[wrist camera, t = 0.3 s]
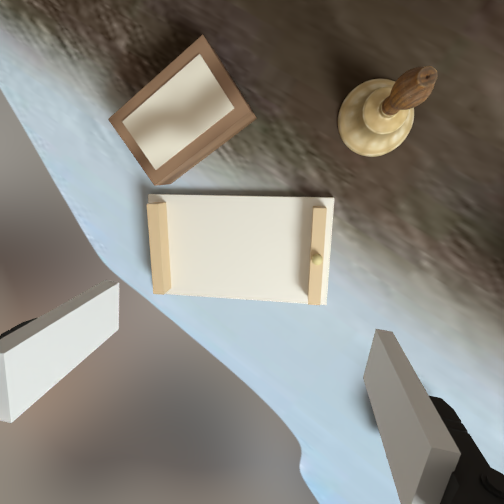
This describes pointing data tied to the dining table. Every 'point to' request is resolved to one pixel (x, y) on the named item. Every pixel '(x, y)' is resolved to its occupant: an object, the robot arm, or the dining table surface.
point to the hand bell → (383, 111)
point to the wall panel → (241, 246)
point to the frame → (182, 114)
